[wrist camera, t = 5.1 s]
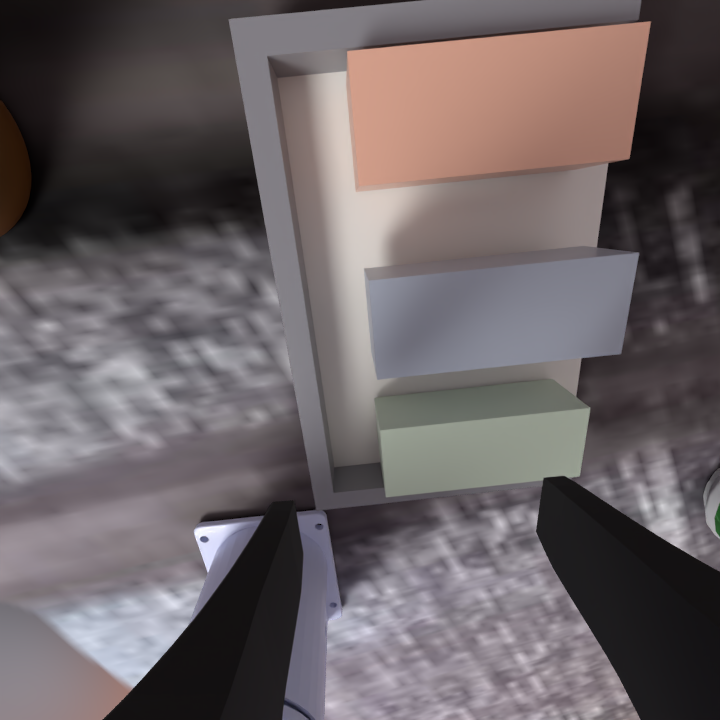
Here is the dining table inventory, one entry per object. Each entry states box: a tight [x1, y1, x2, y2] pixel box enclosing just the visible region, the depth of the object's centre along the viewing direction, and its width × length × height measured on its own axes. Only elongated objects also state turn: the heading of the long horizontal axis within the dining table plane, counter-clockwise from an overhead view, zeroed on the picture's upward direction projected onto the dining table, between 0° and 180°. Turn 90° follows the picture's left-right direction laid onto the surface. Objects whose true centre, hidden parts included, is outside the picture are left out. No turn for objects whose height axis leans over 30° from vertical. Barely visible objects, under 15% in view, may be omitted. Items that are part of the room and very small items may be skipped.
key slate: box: [364, 246, 639, 380], centre depth 14 cm, size 4×9×3 cm, turn 95°
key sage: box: [374, 379, 590, 497], centre depth 18 cm, size 4×9×3 cm, turn 95°
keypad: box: [229, 0, 641, 511], centre depth 16 cm, size 20×14×3 cm
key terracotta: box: [346, 21, 651, 192], centre depth 13 cm, size 4×9×3 cm, turn 95°
